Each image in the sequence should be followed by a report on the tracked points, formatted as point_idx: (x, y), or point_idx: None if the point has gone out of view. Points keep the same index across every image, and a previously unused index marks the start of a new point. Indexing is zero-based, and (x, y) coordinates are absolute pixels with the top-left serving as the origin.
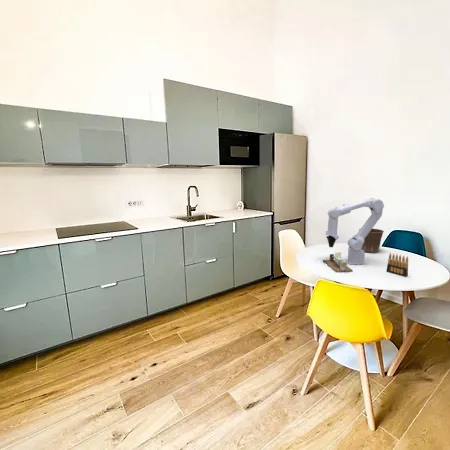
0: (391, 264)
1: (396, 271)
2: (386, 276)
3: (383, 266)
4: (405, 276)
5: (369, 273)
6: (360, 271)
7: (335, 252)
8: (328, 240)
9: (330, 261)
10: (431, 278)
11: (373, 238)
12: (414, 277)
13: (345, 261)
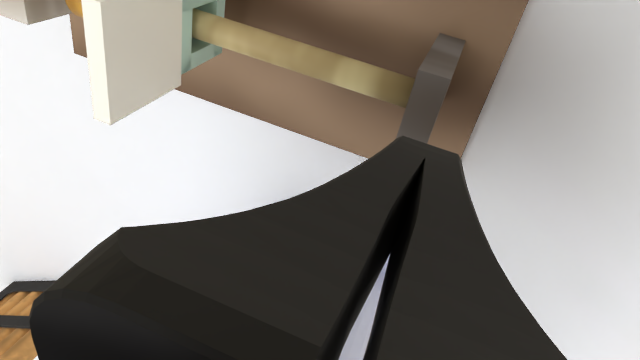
0: (19, 330)
1: None
2: (11, 204)
3: None
4: (12, 284)
5: (56, 153)
6: (97, 126)
7: (89, 2)
8: (428, 264)
9: (420, 26)
10: None
11: None
12: None
13: (2, 8)
